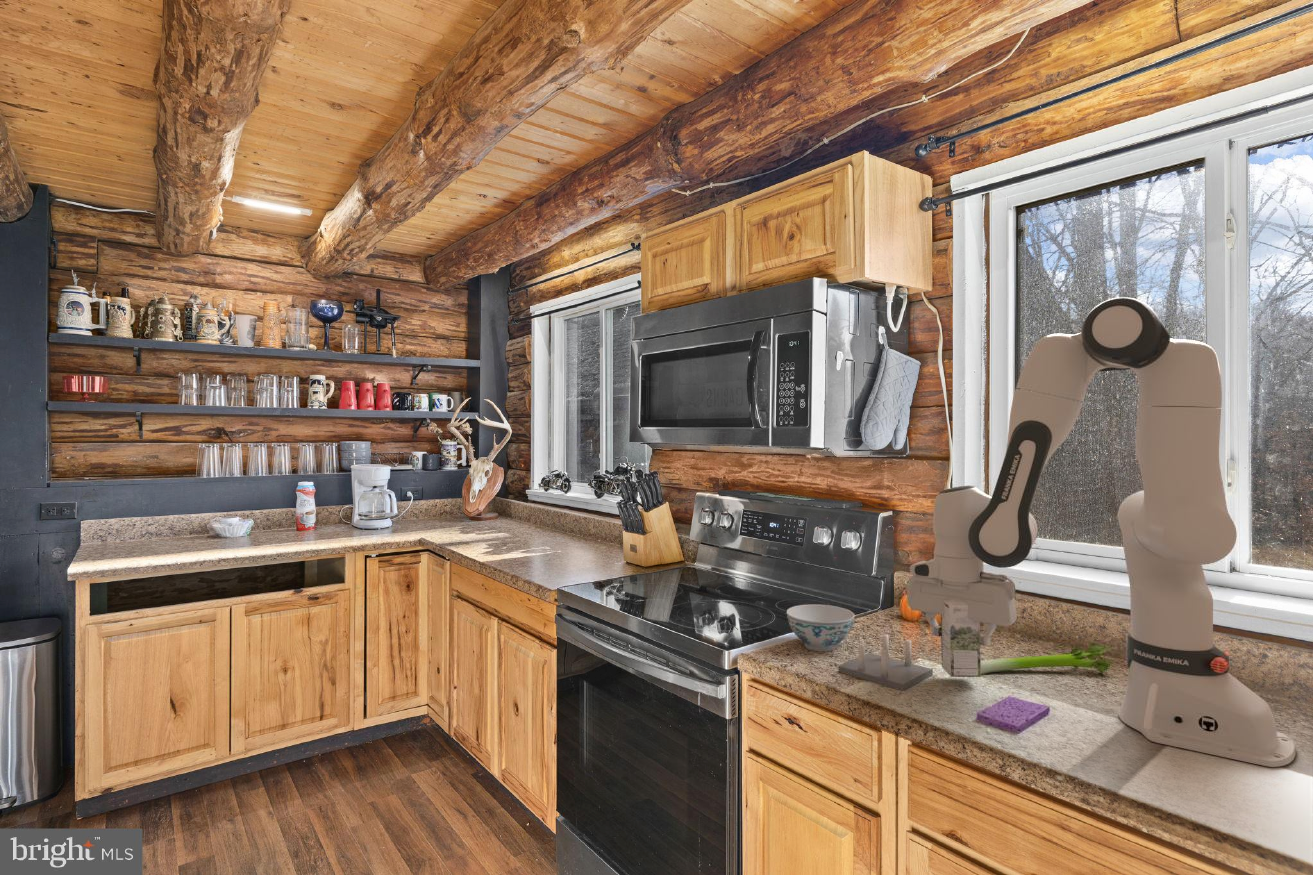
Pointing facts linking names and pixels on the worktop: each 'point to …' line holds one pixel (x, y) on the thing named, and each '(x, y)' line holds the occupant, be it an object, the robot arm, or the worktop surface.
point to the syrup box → (960, 641)
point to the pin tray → (886, 667)
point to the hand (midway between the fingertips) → (960, 640)
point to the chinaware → (820, 625)
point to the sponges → (1013, 714)
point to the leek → (1051, 661)
